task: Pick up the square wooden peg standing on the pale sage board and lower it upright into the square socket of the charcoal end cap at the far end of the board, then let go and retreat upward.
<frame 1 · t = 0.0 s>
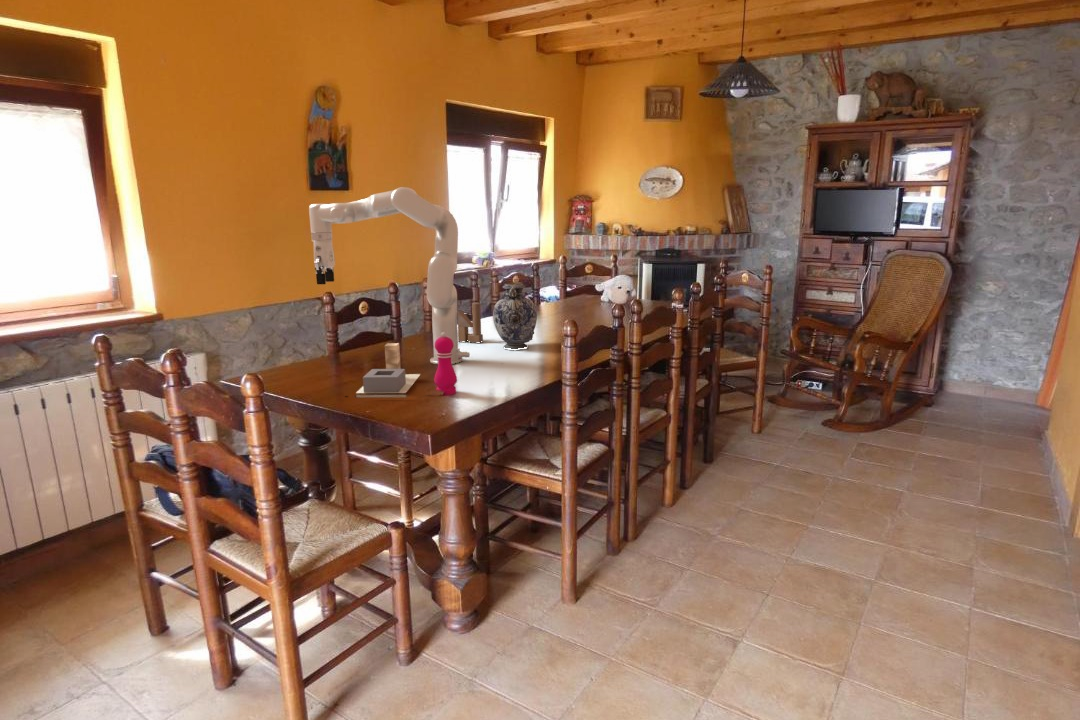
hand: (325, 282, 247), 31 cm above the table, tool pointing down, fingers open, 9 cm apart
brown braced post frame: (470, 342, 290), on the table
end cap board: (390, 387, 216), on the table
decorative vase: (515, 348, 277), on the table
square wooden peg: (394, 378, 222), point 1 cm above the table, touching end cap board
pink bowling pin: (446, 393, 209), on the table
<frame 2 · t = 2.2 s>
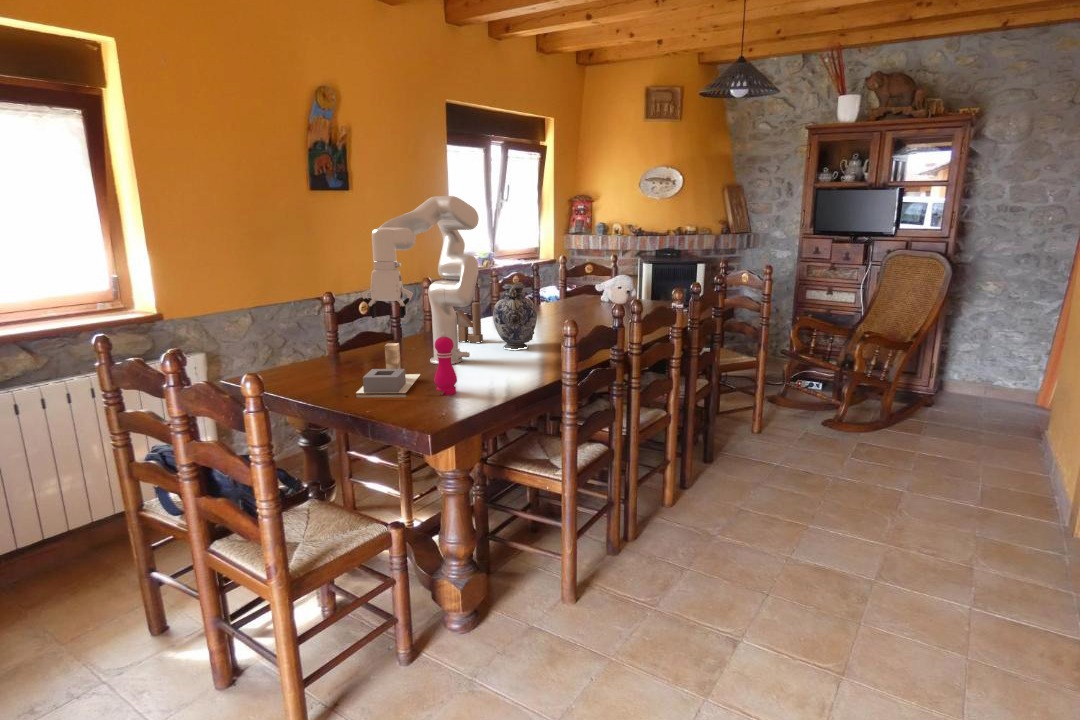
hand: (388, 317, 217), 23 cm above the table, tool pointing down, fingers open, 9 cm apart
nothing on the table moved.
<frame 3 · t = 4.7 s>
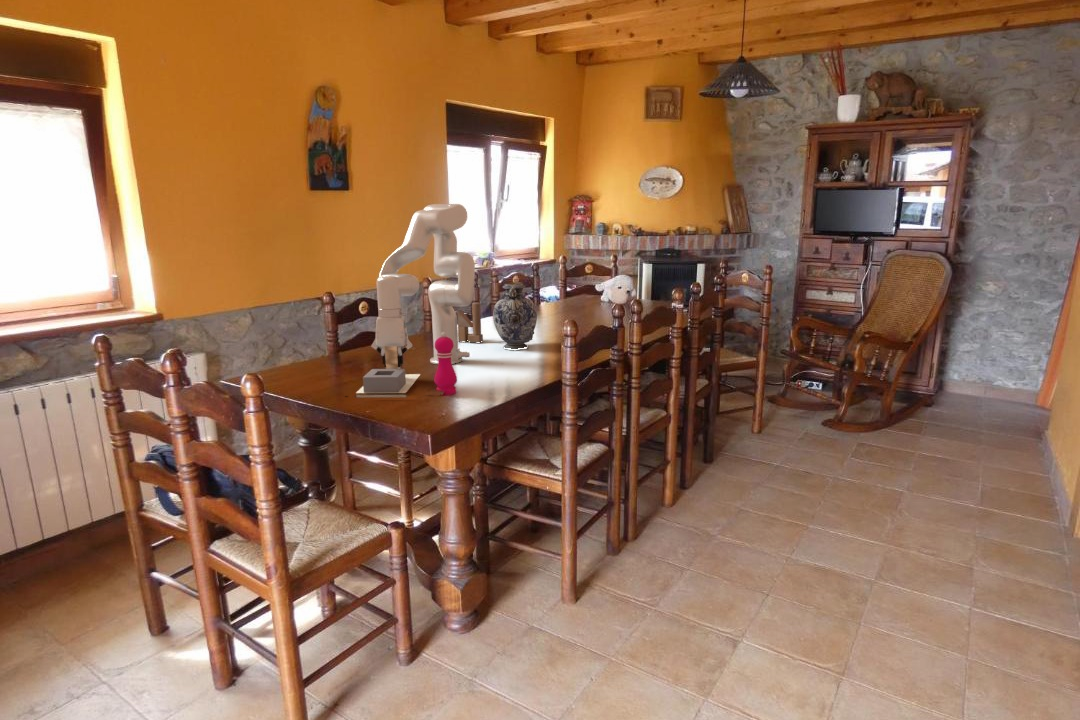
hand: (393, 365, 220), 6 cm above the table, tool pointing down, fingers closed on square wooden peg, 4 cm apart
square wooden peg: (394, 378, 222), point 2 cm above the table, touching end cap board, gripper
everything else where it was.
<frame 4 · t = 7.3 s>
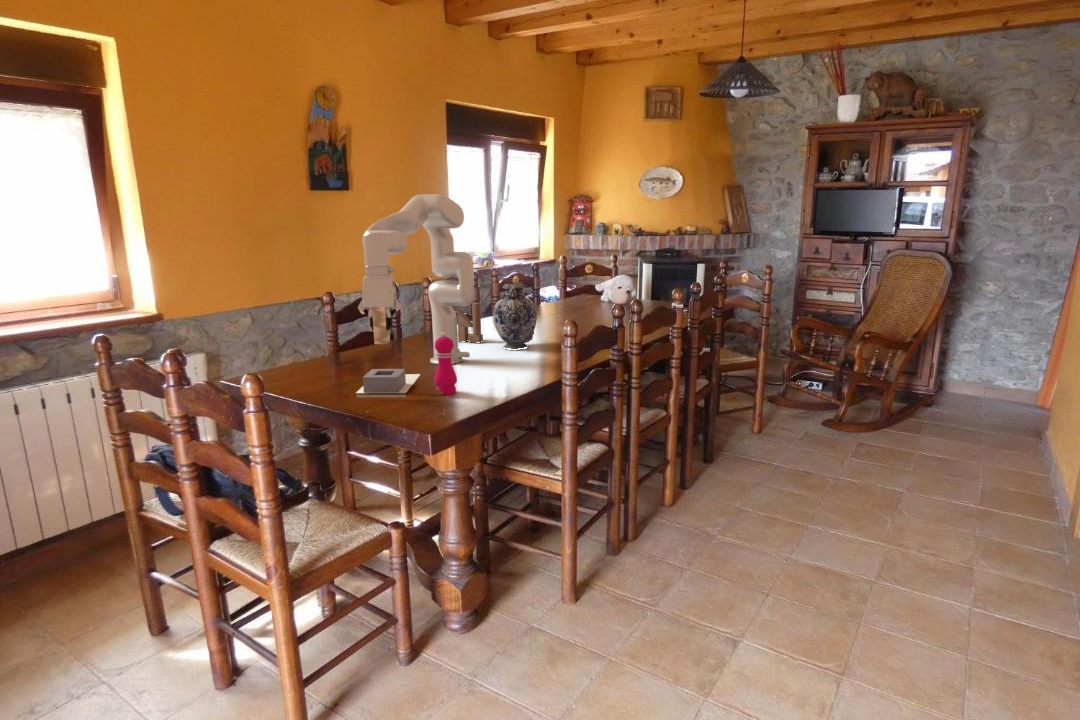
hand: (381, 328, 205), 21 cm above the table, tool pointing down, fingers closed on square wooden peg, 4 cm apart
square wooden peg: (382, 342, 206), point 17 cm above the table, touching gripper
everything else where it was.
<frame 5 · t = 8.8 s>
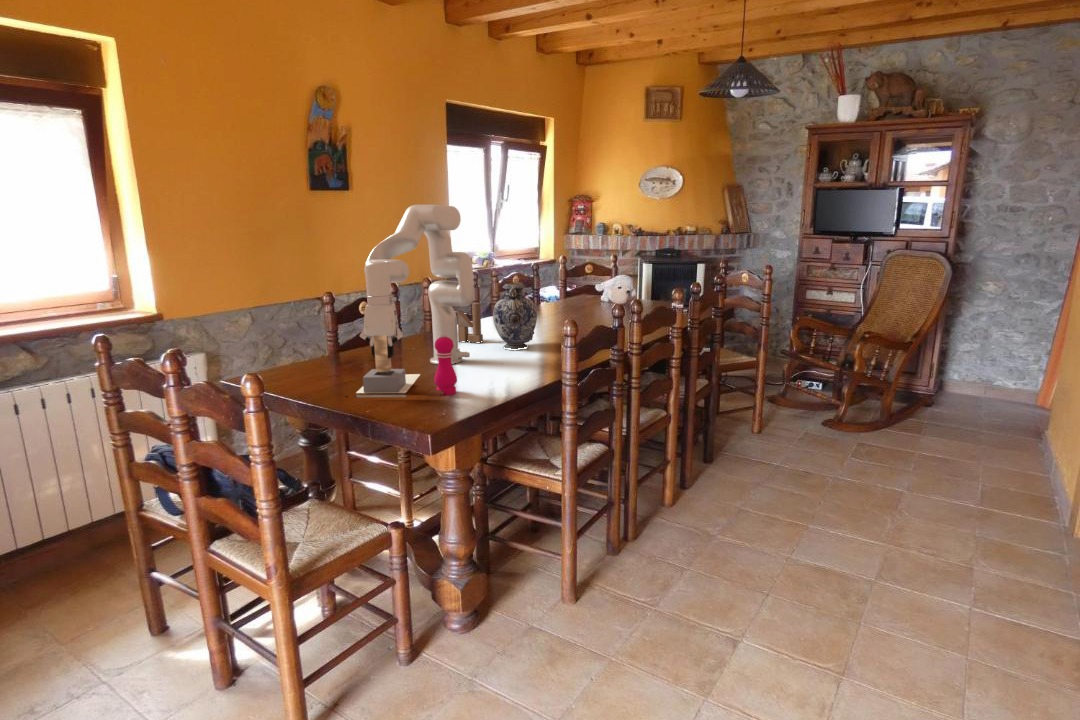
hand: (383, 356, 207), 12 cm above the table, tool pointing down, fingers closed on square wooden peg, 4 cm apart
square wooden peg: (383, 370, 208), point 7 cm above the table, touching gripper
everything else where it was.
when the fingers open (8 cm above the table, at t = 9.9 s): square wooden peg drops 2 cm, resting on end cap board.
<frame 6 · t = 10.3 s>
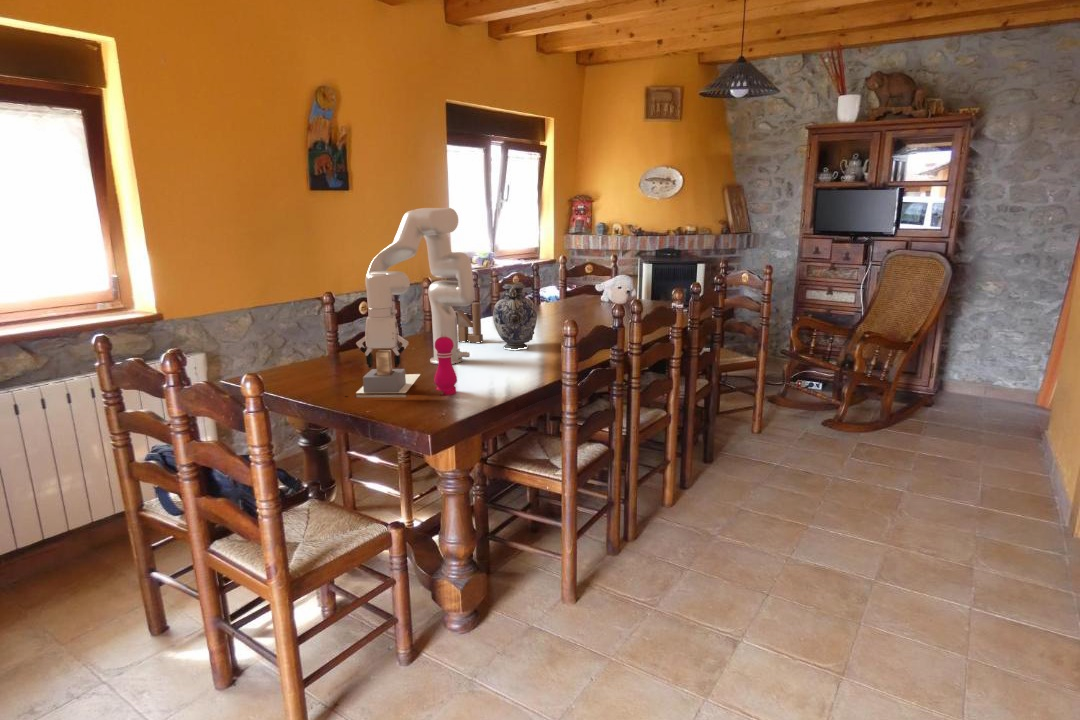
hand: (383, 366, 208), 9 cm above the table, tool pointing down, fingers open, 8 cm apart
square wooden peg: (385, 387, 210), point 2 cm above the table, touching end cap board
everything else where it was.
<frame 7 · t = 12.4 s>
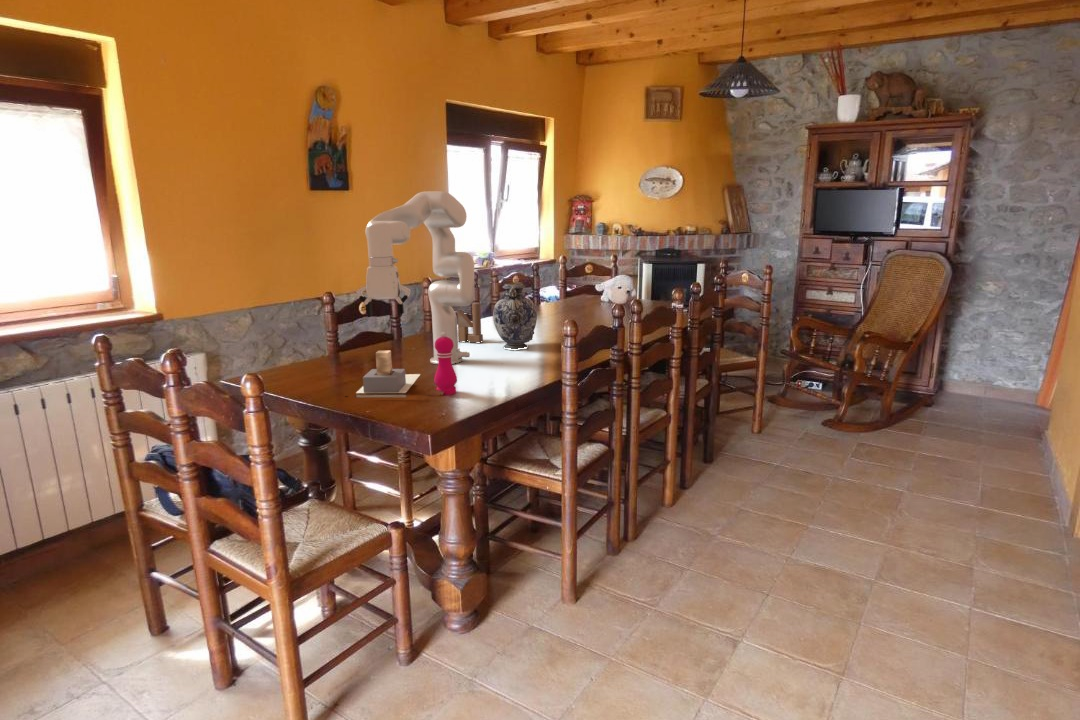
hand: (385, 316, 207), 25 cm above the table, tool pointing down, fingers open, 9 cm apart
nothing on the table moved.
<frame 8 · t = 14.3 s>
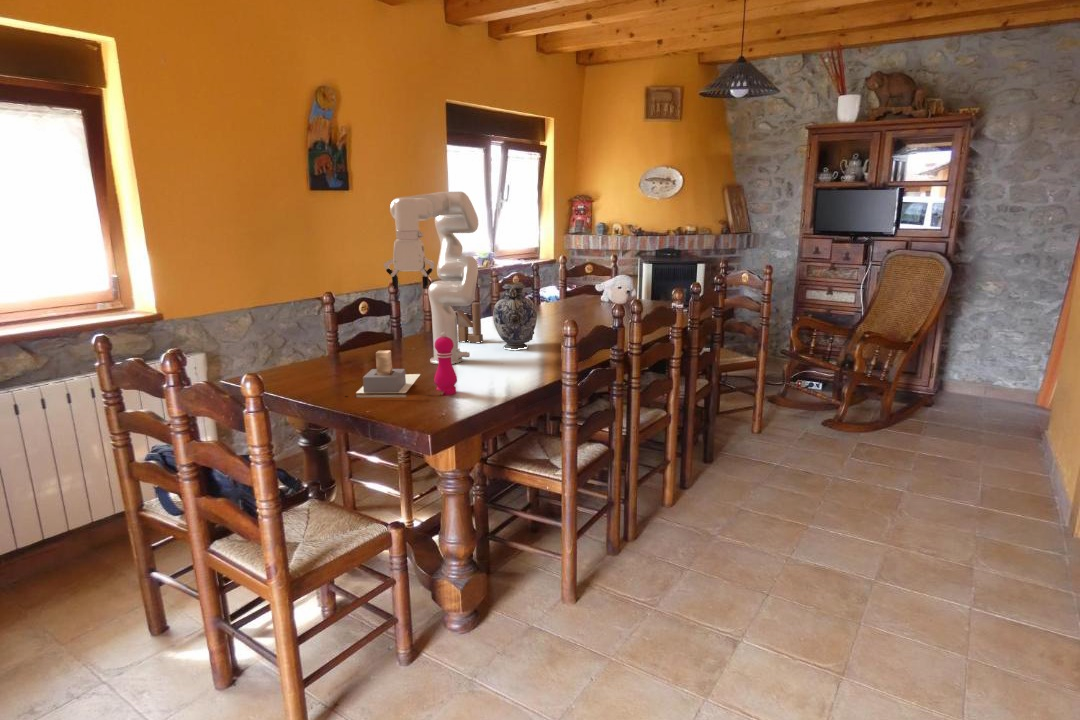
hand: (410, 288, 216), 32 cm above the table, tool pointing down, fingers open, 9 cm apart
nothing on the table moved.
at the end: square wooden peg 0.1 cm from the target spot on the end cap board, point 1.5 cm above the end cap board's base; square wooden peg tilted 0°; the gripper is holding nothing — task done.
